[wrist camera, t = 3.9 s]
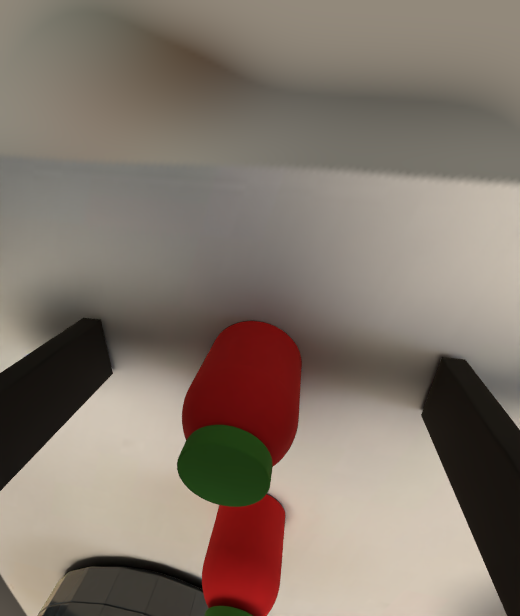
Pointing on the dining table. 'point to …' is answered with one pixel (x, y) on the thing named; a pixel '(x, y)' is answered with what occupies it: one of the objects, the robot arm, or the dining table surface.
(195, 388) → the strawberry
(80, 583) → the bowl
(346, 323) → the dining table surface
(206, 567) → the strawberry
